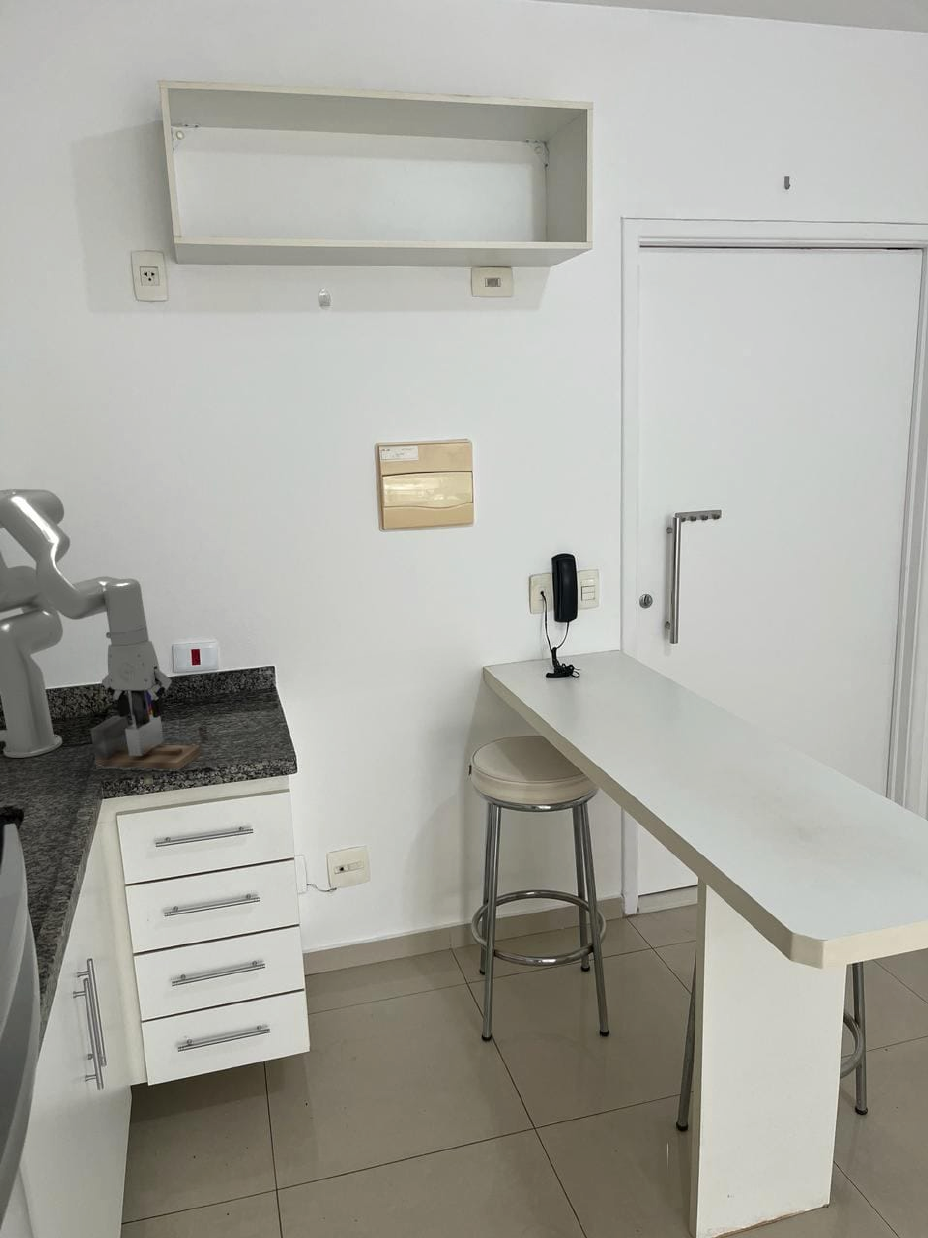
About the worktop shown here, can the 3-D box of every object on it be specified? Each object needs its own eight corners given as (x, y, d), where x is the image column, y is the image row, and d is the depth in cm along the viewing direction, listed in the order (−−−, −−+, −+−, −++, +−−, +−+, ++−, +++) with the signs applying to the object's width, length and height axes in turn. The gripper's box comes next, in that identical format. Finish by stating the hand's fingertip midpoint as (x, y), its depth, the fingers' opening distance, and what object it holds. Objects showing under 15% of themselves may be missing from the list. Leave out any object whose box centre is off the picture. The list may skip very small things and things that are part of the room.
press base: (95, 769, 204) (88, 730, 202) (121, 752, 214) (115, 714, 212) (178, 771, 200) (172, 731, 198) (201, 754, 209) (195, 715, 207)
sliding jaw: (129, 755, 202) (119, 693, 199) (151, 740, 211) (142, 680, 207) (141, 755, 201) (132, 693, 198) (163, 740, 210) (154, 681, 207)
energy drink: (150, 737, 222) (143, 689, 220) (130, 737, 223) (122, 689, 221) (162, 729, 227) (155, 682, 225) (142, 729, 229) (134, 682, 226)
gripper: (83, 642, 199) (96, 721, 203) (156, 641, 195) (168, 722, 199) (104, 633, 206) (116, 709, 210) (175, 632, 202) (186, 710, 206)
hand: (141, 715), depth 204 cm, fingers open, 7 cm apart
